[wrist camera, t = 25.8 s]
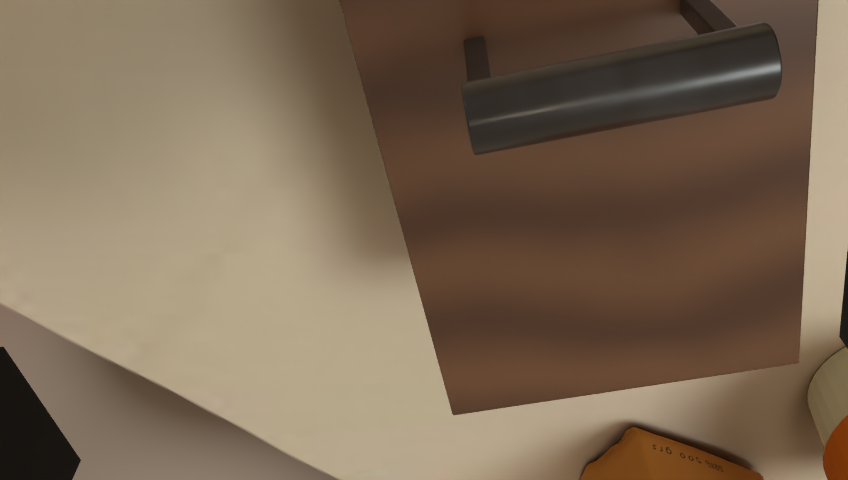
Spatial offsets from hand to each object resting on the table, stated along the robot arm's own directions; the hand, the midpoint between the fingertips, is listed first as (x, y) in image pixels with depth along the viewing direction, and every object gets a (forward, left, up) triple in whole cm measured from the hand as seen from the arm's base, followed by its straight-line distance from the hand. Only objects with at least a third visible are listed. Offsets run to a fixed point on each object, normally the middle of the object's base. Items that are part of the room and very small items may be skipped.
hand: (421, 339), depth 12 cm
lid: (+5, -8, -17) cm, 19 cm away
